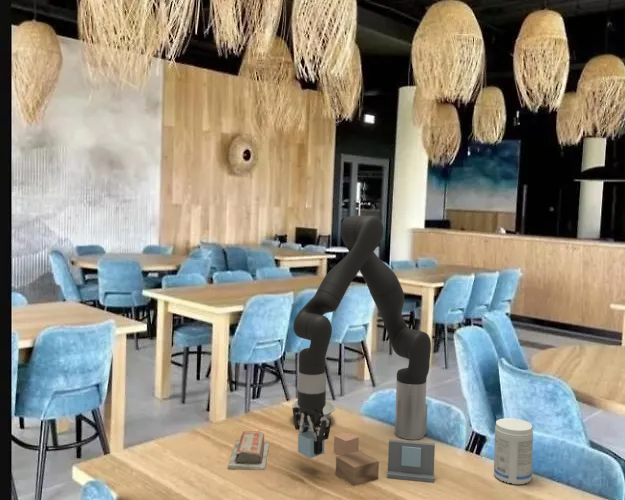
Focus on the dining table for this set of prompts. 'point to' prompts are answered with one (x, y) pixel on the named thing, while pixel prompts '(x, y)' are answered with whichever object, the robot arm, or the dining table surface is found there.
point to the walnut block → (357, 468)
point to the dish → (326, 410)
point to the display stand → (411, 460)
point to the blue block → (307, 444)
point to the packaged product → (249, 452)
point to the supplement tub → (513, 450)
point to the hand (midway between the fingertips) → (311, 450)
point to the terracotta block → (345, 443)
